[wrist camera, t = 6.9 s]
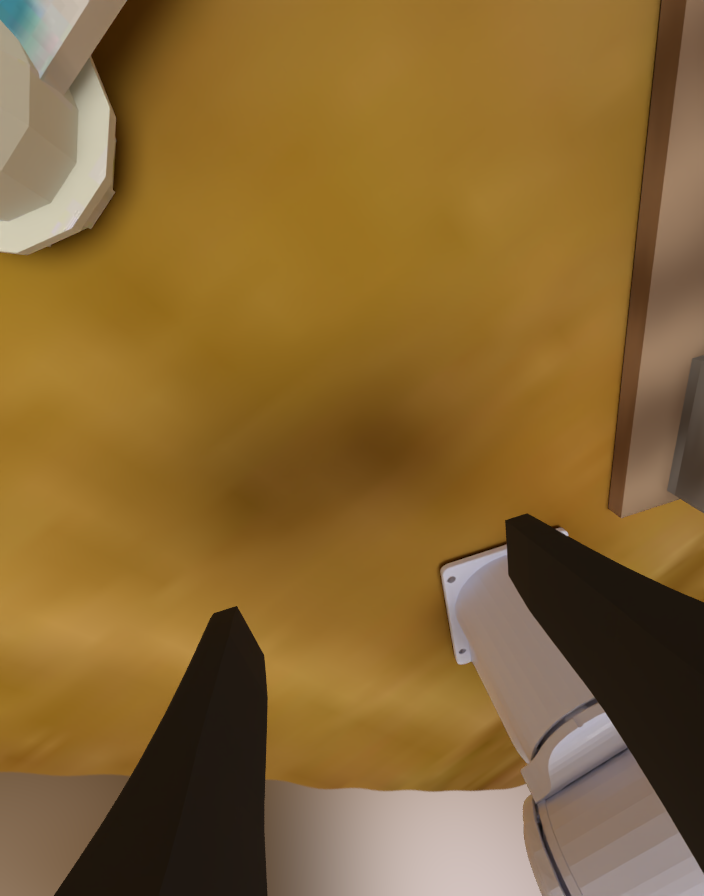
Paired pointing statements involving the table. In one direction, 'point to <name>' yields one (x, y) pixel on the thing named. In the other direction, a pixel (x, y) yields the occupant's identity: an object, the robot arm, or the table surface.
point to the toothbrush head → (53, 121)
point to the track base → (667, 287)
